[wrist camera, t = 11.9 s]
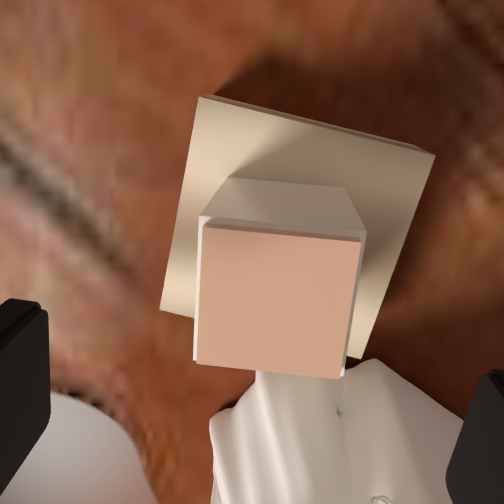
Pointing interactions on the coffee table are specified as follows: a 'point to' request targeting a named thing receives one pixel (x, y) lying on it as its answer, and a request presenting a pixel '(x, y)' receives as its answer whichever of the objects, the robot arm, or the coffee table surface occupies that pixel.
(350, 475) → the religious statue
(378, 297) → the block
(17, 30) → the coffee table surface
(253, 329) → the peach rectangular block
